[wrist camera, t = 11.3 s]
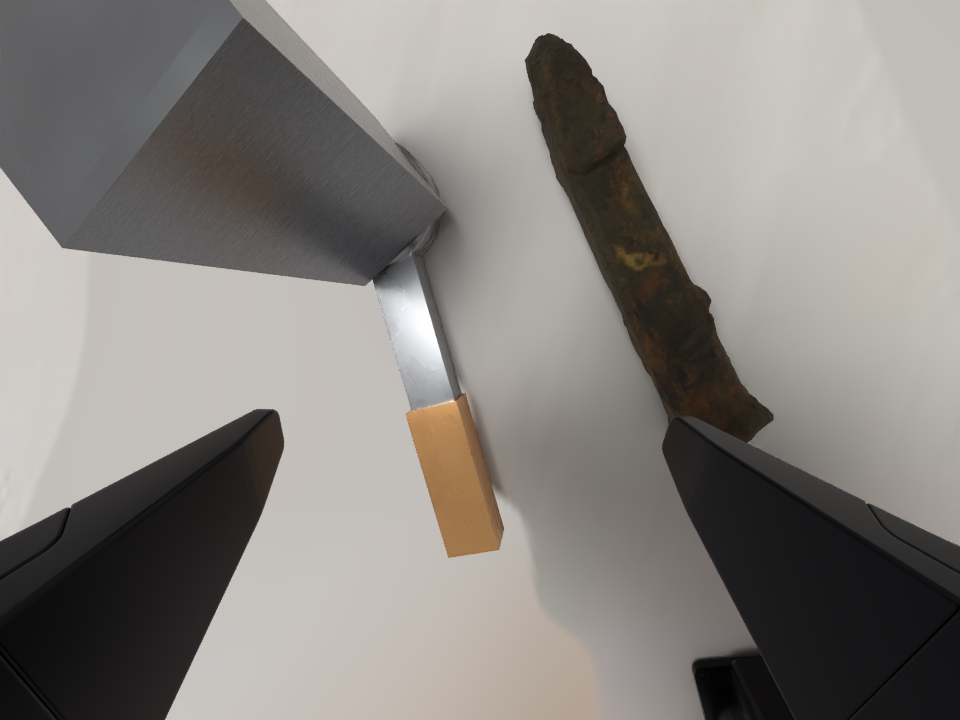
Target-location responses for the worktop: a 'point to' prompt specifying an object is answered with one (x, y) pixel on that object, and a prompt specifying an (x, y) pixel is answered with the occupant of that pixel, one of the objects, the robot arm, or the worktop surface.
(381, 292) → the ratchet
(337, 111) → the grey metal square prism
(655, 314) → the hand tool
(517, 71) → the worktop surface
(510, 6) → the worktop surface
